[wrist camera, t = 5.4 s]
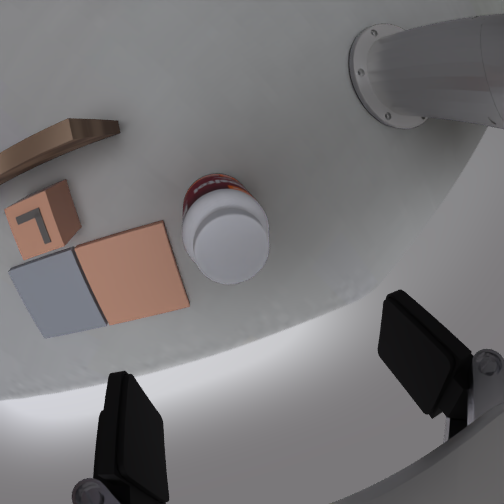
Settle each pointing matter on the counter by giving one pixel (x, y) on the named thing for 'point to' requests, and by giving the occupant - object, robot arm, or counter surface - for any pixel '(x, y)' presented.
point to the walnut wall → (53, 144)
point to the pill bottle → (224, 229)
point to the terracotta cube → (43, 220)
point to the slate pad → (58, 294)
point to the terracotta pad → (133, 273)
